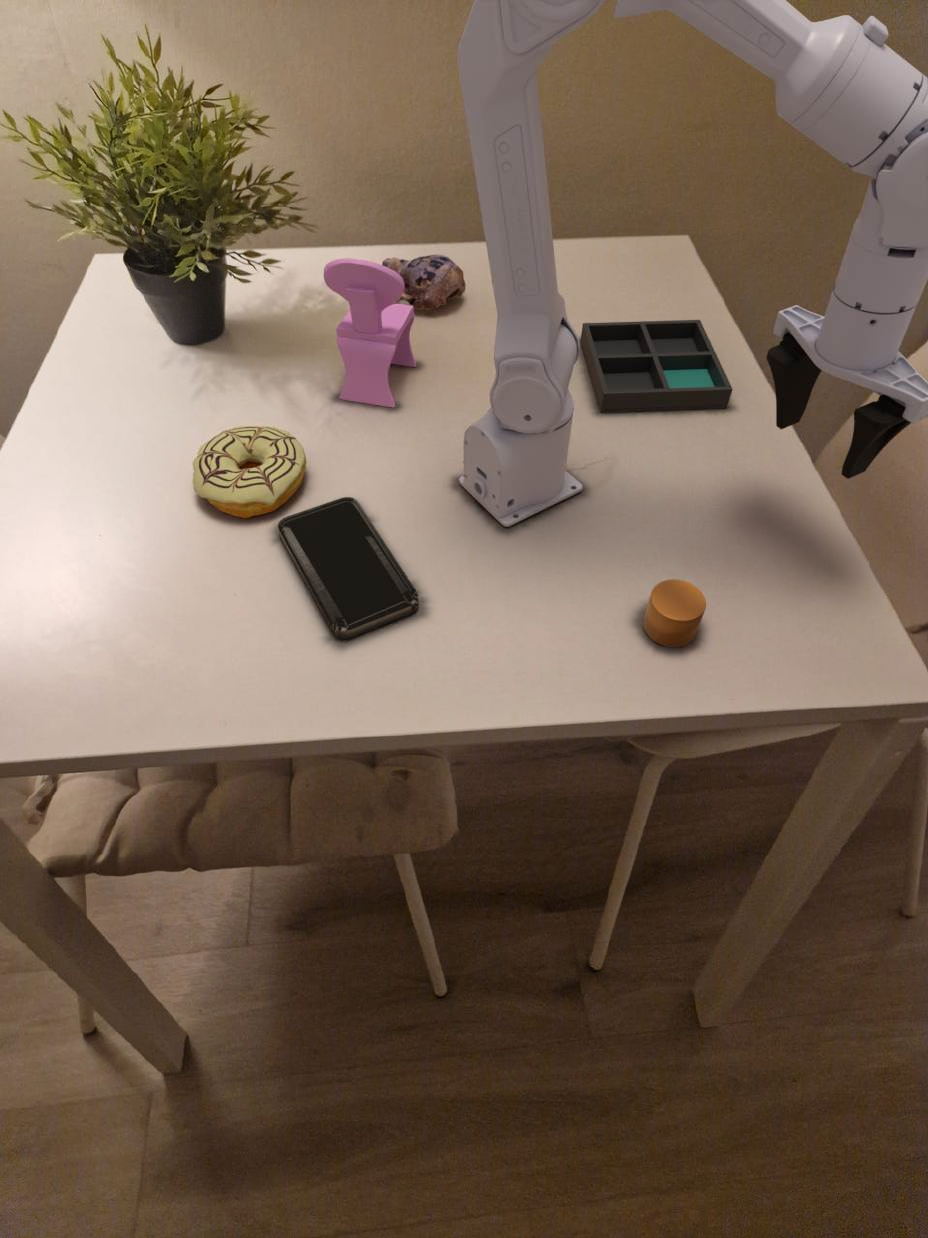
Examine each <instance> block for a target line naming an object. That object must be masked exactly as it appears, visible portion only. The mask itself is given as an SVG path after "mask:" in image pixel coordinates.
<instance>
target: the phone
mask: <svg viewBox="0 0 928 1238" xmlns="http://www.w3.org/2000/svg"><path fill="white" fill-rule="evenodd" d="M277 528H278V532H279V536H280V539H281V541H282V542H283V544H284V546H285V549H286V550H287V552H288V554H289V556H290V557H291V559H292V561H293V563H294V565H295V567H296V568H297V570H298V572H299V574H300V576H301V578H302V579H303V581H304V583H305V585H306V587H307V589H308V591H309V592H310V594H311V596H312V598H313V600H314V602H315V603H316V605H317V607H318V610H319V611H320V613H321V615H322V616H323V619H324V620H325V622H326V623H327V626H328V627H329V629H330V631H331V633H332V634H333V636H334V637H335V638H337V639H339V640H350V639H353V638H355V637H357V636H358V637H359V636H361V635H363V634H366V633H368V632H371V631H373V630H376V629H379V628H380V627H383V626H385V625H388V624H390V623H391V624H392V623H393V622H395V621H398V620H401V619H403V618H405V617H408V616H410V615H413V614H415V613H416V611H418V609H419V606H420V605H419V604H420V603H419V593H418V591H417V590H416V588H415V586H414V585H413V584H412V582H411V580H410V579H409V577H408V576H407V575H406V573H405V572H404V570H403V568H402V567H401V565H400V564H399V562H398V561H397V559H396V557H395V556H394V554H393V553H392V552H391V550H390V549H389V547H388V546H387V544H386V542H385V541H384V539H383V538H382V536H381V534H380V533H379V532H378V530H377V528H376V527H375V525H374V524H373V522H372V520H370V517H369V516H368V515H367V513H366V512H365V510H364V509H363V507H362V506H361V504H360V502H359V501H358V500H357V499H356V498H354V497H350V496H344V497H340V498H337V499H334V500H332V501H329V502H326V503H322V504H320V505H316V506H314V507H311V508H308V509H305V510H302V511H299V512H296V513H293V514H290V515H287V516H284V517H282V518H281V519H280V520H279V521H278V524H277Z"/></svg>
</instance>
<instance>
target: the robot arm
mask: <svg viewBox="0 0 928 1238" xmlns="http://www.w3.org/2000/svg"><path fill="white" fill-rule="evenodd" d="M605 1H606V0H474V1H473V3H472V7H471V9H470V12H469V16H468V18H467V20H466V24H465V27H464V29H463V30H464V31H463V32H462V36H461V38H460V41H459V44H458V48H457V70H458V76H459V84H460V89H461V96H462V101H463V108H464V115H465V121H466V126H467V133H468V139H469V145H470V152H471V157H472V158H471V159H472V165H473V171H474V176H475V183H476V189H477V190H476V191H477V195H478V202H479V209H480V214H481V221H482V226H483V227H482V228H483V233H484V239H485V246H486V252H487V259H488V265H489V272H490V278H491V284H492V290H493V295H494V301H495V308H496V329H495V338H494V349H493V361H494V367H495V376H494V381H493V383H492V385H491V387H490V391H489V404H490V408H489V409H488V410H487V412H486V413H485V414H484V415H483V416H482V417H481V418H480V419H478V420H477V421H476V422H474V423H472V424H471V425H470V426H468V427H467V428H466V430H465V431H464V435H463V475H462V476H460V477H459V478H458V483H459V485H460V486H462V488H464V490H466V491H467V492H468V493H469V494H470V495H471V496H472V497H473V498H474V499H475V500H476V501H477V503H479V504H480V505H481V506H483V508H484V509H485V510H486V511H487V512H488V513H489V514H491V515H492V516H493V518H494V519H496V520H497V521H498V523H500V524H501V525H502V526H503V527H506V528H507V527H511V526H513V525H515V524H517V523H519V522H521V521H523V520H525V519H527V518H529V517H531V516H533V515H535V514H537V513H540V512H541V511H544V510H546V509H547V508H550V507H551V506H554V505H555V504H556V505H557V504H558V503H560V502H562V501H564V500H566V499H568V498H570V497H572V496H574V495H577V494H578V493H580V492H582V491H583V489H584V488H583V487H584V486H583V485H584V484H582V483H581V482H580V481H579V480H578V479H577V478H576V477H574V476H573V475H572V474H570V473H569V472H568V471H567V462H568V456H569V455H568V454H569V447H570V440H571V432H572V426H573V425H572V424H573V418H574V417H573V416H574V411H575V410H574V409H575V402H574V398H573V397H572V394H571V392H570V390H569V385H570V382H571V378H572V374H573V371H574V368H575V364H576V363H577V361H578V359H579V355H580V351H581V342H580V339H579V335H578V333H577V331H576V329H575V328H574V326H573V324H572V323H571V322H570V320H569V318H568V314H567V310H566V309H567V307H566V301H565V298H564V297H563V295H561V293H560V292H559V288H558V279H557V277H558V276H557V268H556V257H555V246H554V236H553V227H552V218H551V217H552V216H551V205H550V196H549V186H548V175H547V165H546V156H545V155H546V154H545V145H544V144H545V143H544V136H543V135H544V133H543V125H542V113H541V104H540V95H539V84H538V72H537V70H538V68H539V67H540V66H541V64H542V62H543V61H544V60H545V59H546V57H547V56H548V55H549V54H550V52H551V50H552V49H553V47H554V45H555V44H556V43H557V42H558V41H559V40H561V39H562V38H564V37H566V36H567V35H568V34H570V33H572V32H573V31H575V30H576V29H577V28H579V27H580V26H582V25H583V24H584V23H585V22H587V21H588V20H590V19H591V18H592V17H593V16H594V15H595V14H596V13H597V12H598V10H599V9H600V8H601V7H602V6H603V4H604V3H605ZM660 11H668V12H671V13H672V14H673V15H675V16H677V17H679V19H681V20H683V21H684V22H686V23H687V24H689V25H690V26H692V27H693V28H695V29H696V30H697V31H699V32H701V33H702V34H704V35H705V36H706V37H708V38H709V39H711V40H713V42H716V44H719V45H720V46H721V47H723V48H724V49H726V50H727V51H729V52H730V53H732V54H733V55H735V56H736V57H738V58H739V59H741V60H742V61H744V62H745V63H746V64H748V65H750V66H751V67H752V68H754V69H756V71H759V72H760V73H762V74H763V75H764V76H766V77H767V78H769V79H770V80H772V81H773V82H774V84H775V111H776V115H777V116H778V117H779V118H781V119H782V120H784V121H785V122H786V123H787V124H789V125H790V126H792V127H793V128H794V129H795V130H797V131H798V132H800V133H801V134H802V135H804V136H805V137H806V138H807V139H809V140H811V142H813V143H814V144H816V145H817V146H819V147H820V148H821V149H822V150H824V151H825V152H827V153H828V154H829V155H831V156H832V157H833V158H835V159H836V160H837V161H839V162H840V163H842V164H843V165H844V166H846V168H848V169H849V170H850V171H852V172H854V173H856V174H861V175H866V176H869V177H872V178H873V179H870V181H869V183H868V185H867V189H866V193H865V196H864V199H863V202H862V205H861V207H860V211H859V214H858V216H857V218H856V219H855V221H854V223H853V226H852V229H851V232H850V236H849V238H848V242H847V244H846V248H845V250H844V254H843V258H842V261H841V264H840V267H839V270H838V273H837V276H836V279H835V282H834V285H833V287H832V290H831V294H830V297H829V301H828V304H827V306H826V310H825V312H824V316H823V315H821V314H819V313H815V312H813V311H810V310H807V309H805V308H803V307H801V306H800V305H798V304H796V305H793V306H790V307H787V308H785V309H782V310H779V311H777V315H776V319H775V323H774V326H773V330H772V334H773V335H775V336H777V337H778V338H779V339H781V340H780V341H779V344H777V345H774V346H772V347H770V348H769V349H768V350H767V353H766V356H765V357H766V358H765V359H766V362H767V363H768V366H769V369H770V371H771V376H772V379H773V385H774V391H775V410H776V411H775V416H776V417H775V425H776V427H777V428H778V429H780V430H784V429H786V428H788V427H790V426H793V425H795V424H798V423H800V422H801V420H802V418H803V416H804V413H805V411H806V409H807V406H808V403H809V401H810V397H811V394H812V392H813V389H814V386H815V384H816V382H817V380H818V378H819V376H820V374H821V372H824V373H826V374H828V375H830V376H833V377H835V378H837V379H841V380H843V381H846V382H849V383H851V384H855V385H857V386H860V387H862V388H865V389H868V390H870V391H872V392H873V393H875V394H876V395H878V396H879V397H878V399H877V400H876V401H871V402H868V403H867V404H864V405H862V406H859V407H856V408H855V409H854V411H853V432H852V437H851V442H850V446H849V449H848V451H847V454H846V456H845V459H844V462H843V464H842V468H841V475H842V477H844V478H845V479H852V478H854V477H857V476H858V475H861V474H863V473H866V471H867V469H869V467H870V466H871V464H872V463H873V461H874V460H875V459H876V458H877V456H878V455H879V454H880V453H881V452H882V451H883V450H884V448H885V447H886V446H887V445H888V444H889V443H890V442H891V441H892V440H893V439H894V438H895V437H896V436H897V435H898V434H899V433H901V432H902V431H904V430H905V429H906V428H907V427H908V426H909V425H910V424H915V423H918V422H921V421H922V420H925V419H927V418H928V380H926V379H925V378H924V376H922V374H920V373H919V371H918V370H917V369H916V368H915V367H914V366H913V365H912V363H911V362H910V361H909V360H908V359H907V358H906V357H905V356H904V355H903V354H902V352H900V347H901V345H902V342H903V339H904V337H905V336H906V333H907V331H908V328H909V325H910V323H911V321H912V317H913V316H914V313H915V311H916V308H917V305H918V303H919V301H920V299H921V296H922V294H923V292H924V289H925V287H926V285H927V282H928V77H927V76H926V75H925V74H924V73H922V72H920V70H918V68H916V67H914V66H913V65H912V64H911V63H909V62H908V61H907V60H906V59H905V58H903V57H902V56H901V55H899V54H898V53H897V52H896V51H894V50H893V49H892V48H890V46H888V44H886V43H885V42H886V41H887V39H888V38H889V36H890V33H889V30H888V28H887V26H886V25H885V24H884V23H883V22H881V21H880V20H879V19H878V18H876V17H875V16H873V15H869V17H867V19H866V21H865V22H864V23H863V24H861V23H860V22H858V21H857V20H856V19H854V17H852V16H851V15H848V14H843V15H840V16H837V17H836V16H835V17H833V18H829V19H825V20H820V21H810V20H809V19H808V18H807V17H806V16H805V15H804V14H802V13H801V12H800V11H799V10H798V9H797V8H796V7H794V6H793V5H792V4H791V3H790V2H788V1H787V0H617V1H616V4H615V9H614V11H613V19H624V18H628V17H629V18H630V17H634V16H639V15H644V14H648V13H654V12H660Z"/></svg>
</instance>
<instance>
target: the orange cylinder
mask: <svg viewBox="0 0 928 1238" xmlns="http://www.w3.org/2000/svg"><path fill="white" fill-rule="evenodd" d="M706 608H707V599H706V597H705V595H704V593H703V592H702V591H701V590H700V588H698V587H697V586H696V585H695V584H693V583H690V582H689V581H686V580H682V579H666V580H663V581H661V582H659V583H657V584H656V585H654V587H652V590H651V593H650V596H649V600H648V603H647V607H646V609H645V610H646V611H645V614H644V617H643V620H642V621H643V623H642V624H643V629H644V631H645V634H647V636H648V637H649V638H650V639H651V640H652V641H654V642H655V643H657V644H658V645H661V646H664V647H668V648H679V647H684V646H686V645H688V644H689V643H691V642H692V641H693V640H694V639H695V637H696V635H697V633H698V630H699V628H700V624H701V622H702V620H703V616H704V613H705V611H706Z"/></svg>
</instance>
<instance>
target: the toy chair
mask: <svg viewBox="0 0 928 1238" xmlns="http://www.w3.org/2000/svg"><path fill="white" fill-rule="evenodd" d="M323 280H324V283H325V285H326V286H327V287H328V288H329V289H330V290H331V291H333V292H334V293H336V294H338V295H339V296H340V297H341V298H343V299H344V300H345V301H346V302H348V305H349V310H348V311H347V313H346V314H345V316H344V317H343V318H342V319H341V321H340V322H339V323H338V325H337V327H336V345H337V348H338V351H339V353H340V355H341V359H342V361H343V364H344V370H345V374H344V375H345V376H344V382H343V386H342V390H341V392H340V394H339V400H343V401H348V402H349V401H350V402H354V403H361V404H367V405H373V406H379V407H386V408H391V409H392V408H393V409H394V408H395V407H396V403H395V400H394V398H393V396H392V392H391V388H390V385H389V384H390V383H389V370H390V366H391V364H392V365H398V366H405V367H411V368H416V367H417V362H416V359H415V355H414V353H413V349H412V345H411V338H410V337H411V336H410V335H411V329H412V326H413V324H414V321H415V313H414V311H415V310H414V309H415V308H413V306H411V305H410V304H403V303H397V302H398V301H400V300H401V299H402V298H401V297H402V295H403V292H404V288H405V284H404V281H403V279H402V277H401V276H400V275H399V274H398V273H396V272H395V271H393V270H391V269H390V268H388V267H385V266H383V265H382V264H380V263H377V262H374V261H370V260H365V259H359V258H349V257H347V258H338V259H334V260H331V261H328V263H326V264H325V266H324V268H323Z"/></svg>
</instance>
